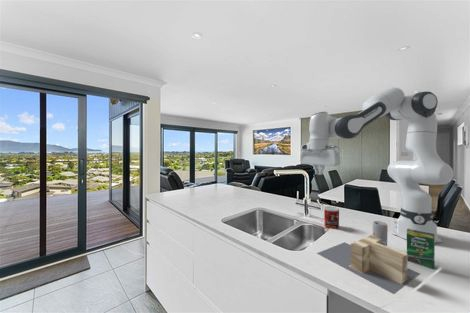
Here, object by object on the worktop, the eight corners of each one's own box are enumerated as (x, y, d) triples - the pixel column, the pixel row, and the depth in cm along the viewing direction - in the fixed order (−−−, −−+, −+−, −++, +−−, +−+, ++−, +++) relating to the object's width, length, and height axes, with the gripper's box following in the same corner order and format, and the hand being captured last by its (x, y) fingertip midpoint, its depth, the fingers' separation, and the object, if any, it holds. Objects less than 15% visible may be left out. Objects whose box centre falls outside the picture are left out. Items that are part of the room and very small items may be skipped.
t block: (370, 256, 82) (370, 235, 82) (413, 275, 70) (414, 250, 70) (350, 266, 75) (350, 243, 75) (394, 289, 63) (395, 261, 63)
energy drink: (373, 245, 93) (373, 220, 93) (387, 248, 90) (387, 222, 90) (371, 249, 89) (372, 223, 89) (386, 253, 86) (387, 226, 85)
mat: (344, 243, 95) (344, 242, 95) (420, 275, 71) (420, 273, 71) (316, 254, 86) (316, 253, 86) (393, 295, 61) (393, 294, 61)
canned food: (324, 228, 113) (325, 209, 113) (323, 223, 121) (323, 205, 120) (339, 230, 111) (340, 211, 110) (337, 225, 118) (338, 207, 118)
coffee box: (405, 261, 80) (406, 229, 79) (407, 259, 82) (407, 227, 81) (433, 271, 73) (434, 236, 73) (434, 268, 75) (435, 234, 75)
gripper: (343, 145, 89) (343, 176, 89) (306, 146, 107) (306, 172, 107) (334, 145, 86) (334, 177, 86) (298, 146, 104) (298, 172, 104)
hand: (318, 174), depth 97 cm, fingers closed
